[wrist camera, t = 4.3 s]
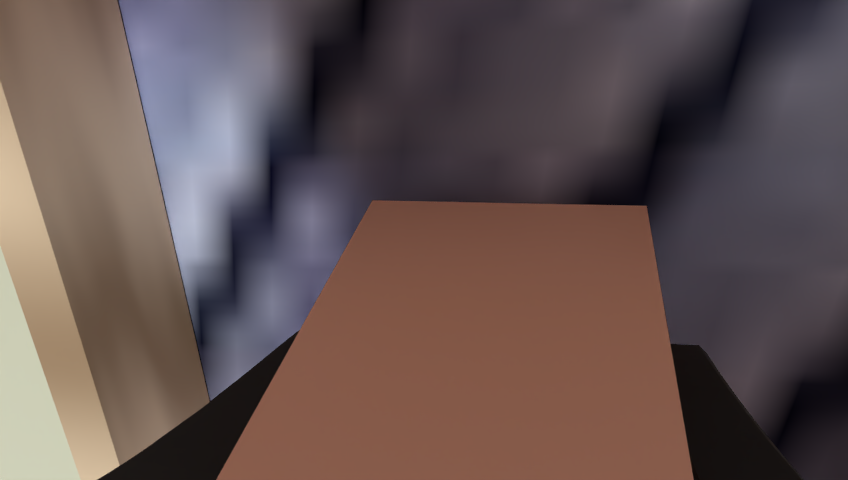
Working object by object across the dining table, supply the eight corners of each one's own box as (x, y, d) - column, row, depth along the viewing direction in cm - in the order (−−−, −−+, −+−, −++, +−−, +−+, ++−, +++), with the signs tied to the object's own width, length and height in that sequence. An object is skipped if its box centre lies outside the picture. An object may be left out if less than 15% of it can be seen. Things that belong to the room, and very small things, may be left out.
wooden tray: (849, 670, 16) (901, 833, 13) (222, 596, 19) (163, 723, 16) (1174, -436, 8) (1461, -561, 5) (-9, -307, 10) (-204, -349, 8)
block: (629, 426, 13) (671, 958, 7) (392, 410, 14) (240, 878, 8) (647, 206, 11) (724, 661, 5) (372, 200, 12) (151, 594, 6)
